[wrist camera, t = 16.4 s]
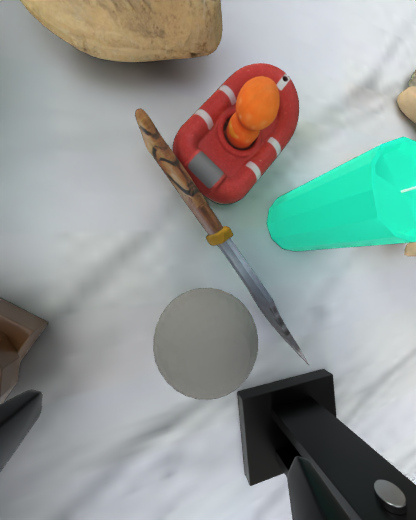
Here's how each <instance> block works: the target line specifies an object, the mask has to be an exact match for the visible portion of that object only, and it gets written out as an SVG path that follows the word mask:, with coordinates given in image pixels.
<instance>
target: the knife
mask: <svg viewBox="0 0 416 520" xmlns="http://www.w3.org/2000/svg"><path fill="white" fill-rule="evenodd" d="M135 116H136V120H137V122H138V125H139V128H140V131H141V133H142V136H143V139H144V142H145V145H146V148H147V149H148V151H149V152H150V154H151V155H152V156H153V157H154V159H155V160H156V161H157V163H158V164H159V166H160V167H161V168H162V170H163V171H164V173H165V174H166V175H167V177H168V178H169V180H170V181H171V183H172V184H173V186H174V187H175V188H176V190H177V191H178V193H179V194H180V196H181V197H182V198H183V200H184V201H185V203H186V204H187V205H188V207H189V208H190V210H191V211H192V212H193V214H194V215H195V217H196V218H197V219H198V221H199V222H200V223H201V225H202V226H203V228H204V229H205V230H206V232H207V233H208V234H209V235H208V236H207V237H206V239H207V241H208V242H209V244H210V245H213V246H214V245H218V246H219V248H220V249H221V251H222V252H223V253H224V255H225V256H226V258H227V259H228V260H229V262H230V263H231V265H232V266H233V268H234V269H235V271H236V272H237V274H238V275H239V277H240V278H241V280H242V281H243V283H244V284H245V286H246V287H247V289H248V291H249V292H250V294H251V296H252V297H253V299H254V301H255V302H256V304H257V305H258V307H259V308H260V310H261V311H262V313H263V314H264V316H265V317H266V318H267V319H268V321H269V322H270V323H271V325H272V326H273V327H274V328H275V329H276V331H277V332H278V333H279V334H280V335H281V336H282V337H283V339H284V340H285V341H286V342H287V343H288V344H289V345H290V346H291V347H292V348H293V349H294V350H295V351H296V353H297V354H298V355H299V356H300V357H301V358H302V359H303V360H304V361H305V362H306V363H307V364H308V362H307V360H306V359H305V357H304V355H303V353H302V351H301V349H300V348H299V346H298V345H297V343H296V341H295V340H294V338H293V337H292V335H291V334H290V332H289V330H288V329H287V327H286V325H285V324H284V322H283V320H282V318H281V317H280V315H279V313H278V311H277V308H276V306H275V304H274V301H273V299H272V298H271V296H270V295H269V293H268V292H267V291H266V289H265V288H264V286H263V285H262V283H261V282H260V281H259V279H258V278H257V276H256V275H255V273H254V272H253V270H252V269H251V268H250V266H249V265H248V263H247V262H246V260H245V259H244V257H243V256H242V254H241V253H240V252H239V250H238V249H237V247H236V246H235V244H234V243H233V241H232V240H231V238H230V237H232V236H233V233H232V231H231V229H230V228H229V227H227V226H224V227H223V226H222V225H221V223H220V222H219V220H218V218H217V217H216V215H215V214H214V212H213V211H212V209H211V208H210V206H209V205H208V203H207V202H206V200H205V198H204V197H203V195H202V194H201V192H200V191H199V189H198V188H197V186H196V185H195V183H194V182H193V180H192V179H191V177H190V176H189V174H188V173H187V171H186V170H185V168H184V167H183V165H182V164H181V163H180V161H179V160H178V158H177V157H176V156H175V154H174V153H173V151H172V150H171V149H170V147H169V146H168V145H167V143H166V142H165V141H164V139H163V138H162V136H161V135H160V133H159V132H158V130H157V129H156V127H155V125H154V124H153V122H152V121H151V119H150V117H149V116H148V115H147V113H146V112H145V111H144V110H142V109H137V110H136V113H135ZM308 365H309V364H308Z"/></svg>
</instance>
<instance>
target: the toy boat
mask: <svg viewBox="0 0 416 520" xmlns="http://www.w3.org/2000/svg"><path fill="white" fill-rule="evenodd" d="M298 116H299V100H298V95H297V91H296V89H295V86H294V84H293V82H292V80H291V79H290V77H289V76H288V75H287V74H286V73H285V72H284V71H282V70H281V69H279V68H277V67H275V66H273V65H270V64H263V63H258V64H251V65H248V66H245V67H243V68H241V69H239V70H238V71H236V72H235V73H234V74H232V75H231V76H230V77H229V78H228V79H227V80H226V81H225V82H224V83H223V84H222V85H221V86H220V87H219V89H218V90H217V91H216V92H215V93H214V94H213V95H212V96H211V97H210V98H209V99H208V100H207V101H206V102H205V103H204V104H203V105H202V106H201V107H200V108H199V109H198V110H197V111H196V112H195V113H194V114H193V115H192V116H191V117H190V118H189V119H188V120H187V121H186V122H185V123H184V124H183V125H182V127H181V128H180V129H179V131H178V133H177V135H176V137H175V139H174V142H173V153H174V154H175V156H176V157H177V158H178V160H179V161H180V163H181V164H182V165H183V167H184V168H185V170H186V171H187V173H188V174H189V176H190V177H191V179H192V180H193V182H194V183H195V185H196V186H197V188H198V189H199V191H200V192H201V193H202V194H203V195H204V196H205V197H207V198H209V199H210V200H212V201H214V202H216V203H220V204H230V203H234V202H237V201H239V200H240V199H242V198H243V197H244V196H245V195H246V194H247V193H248V192H249V190H250V189H251V188H252V187H253V185H254V184H255V183H256V182H257V181H258V179H259V178H260V177H261V176H262V175H263V174H264V172H265V171H266V170H267V169H268V167H269V166H270V165H271V164H272V162H273V161H274V160H275V159H276V158H277V156H278V155H279V154H280V153H281V151H282V150H283V149H284V147H285V146H286V145H287V143H288V142H289V140H290V139H291V137H292V135H293V133H294V131H295V129H296V126H297V122H298Z"/></svg>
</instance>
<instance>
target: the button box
mask: <svg viewBox="0 0 416 520" xmlns="http://www.w3.org/2000/svg"><path fill="white" fill-rule="evenodd" d="M47 324H48V322H47V321H45V320H43V319H41V318H39V317H37V316H35V315H33V314H31V313H29V312H27V311H25V310H23V309H21V308H19V307H17V306H15V305H13V304H11V303H9V302H7V301H5V300H3V299H1V298H0V404H2V403H3V402H4V400H5V399H6V398H7V396H8V395H9V393H10V392H11V391H12V389H13V388H14V386H15V385H16V384H17V382H18V377H19V363H20V362H21V360H22V359H23V358H24V356H25V355H26V353H27V352H28V351H29V349H30V348H31V347H32V345H33V344H34V342H35V341H36V340H37V338H38V337H39V335H40V334H41V333H42V331H43V330H44V328H45V327H46V326H47Z"/></svg>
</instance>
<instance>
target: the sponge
mask: <svg viewBox="0 0 416 520" xmlns="http://www.w3.org/2000/svg"><path fill="white" fill-rule="evenodd" d="M408 85H409V87H410V86H416V70H415V72H414V73H413V75H412V79H411V80H410V81H409V84H408Z"/></svg>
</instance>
